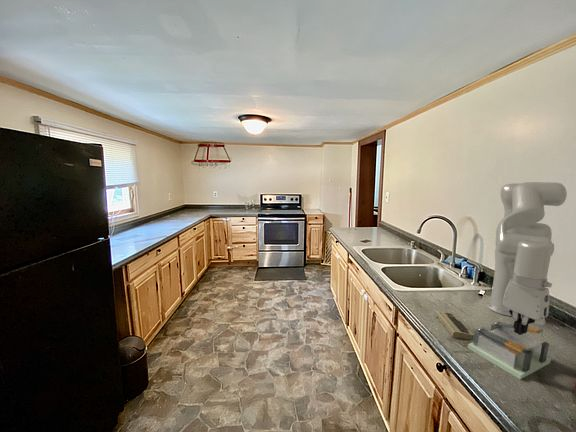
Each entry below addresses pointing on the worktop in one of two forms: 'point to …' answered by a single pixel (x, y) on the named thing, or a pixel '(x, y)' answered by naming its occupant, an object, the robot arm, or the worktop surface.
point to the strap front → (503, 340)
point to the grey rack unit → (508, 353)
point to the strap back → (513, 328)
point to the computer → (454, 325)
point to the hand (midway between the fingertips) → (519, 332)
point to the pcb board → (515, 372)
